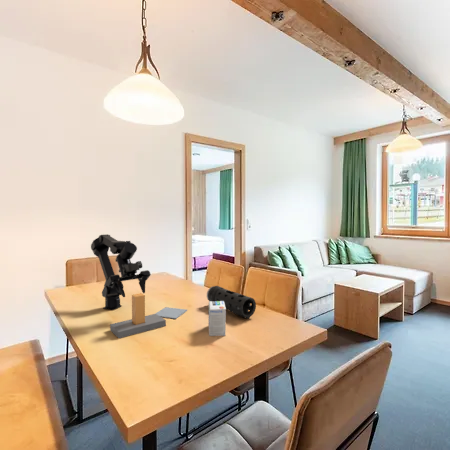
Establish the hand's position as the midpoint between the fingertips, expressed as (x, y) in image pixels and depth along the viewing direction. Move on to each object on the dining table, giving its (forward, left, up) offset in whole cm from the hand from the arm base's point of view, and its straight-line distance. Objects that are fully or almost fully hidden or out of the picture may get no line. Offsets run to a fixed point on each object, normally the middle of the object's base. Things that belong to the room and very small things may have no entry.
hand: (134, 294), depth 127 cm
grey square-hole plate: (+6, -6, -12) cm, 15 cm away
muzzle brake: (+36, +26, -12) cm, 46 cm away
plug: (+6, -6, -12) cm, 15 cm away
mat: (+10, +14, -12) cm, 21 cm away
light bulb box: (+38, +2, -12) cm, 40 cm away
